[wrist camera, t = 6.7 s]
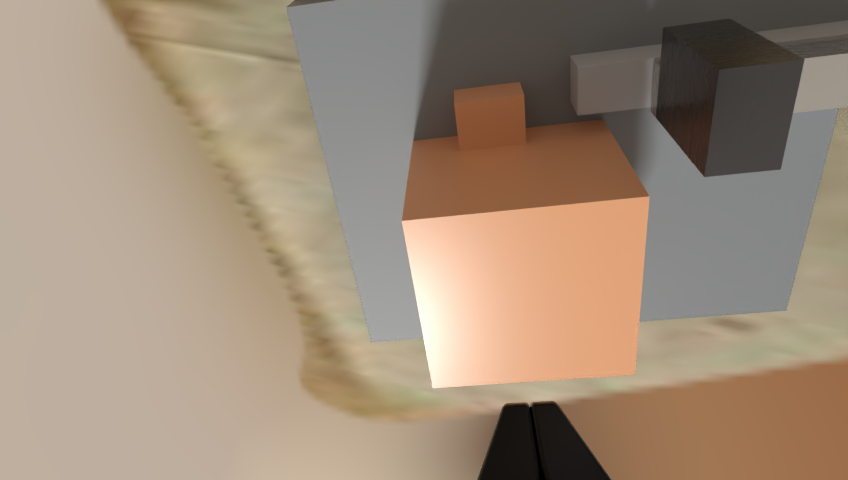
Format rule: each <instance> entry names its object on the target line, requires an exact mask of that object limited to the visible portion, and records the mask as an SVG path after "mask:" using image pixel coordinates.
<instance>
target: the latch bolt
mask: <svg viewBox="0 0 848 480" xmlns="http://www.w3.org/2000/svg"><path fill="white" fill-rule="evenodd" d="M842 107H848V37H847V38H839V39H831V40H823V41H815V42H807V43H799V44H791V45H783V46H779V45H778V44H776V43H774V42H772V41H770V40H768V39H766V38H765V37H763V36H761V35H759V34H757V33H755V32H754V31H752V30H750V29H748V28H746V27H744V26H742V25H741V24H739V23H737V22H735V21H733V20H731V19H723V20H716V21H708V22H700V23H693V24H685V25H677V26H670V27H663V36H662V48H661V60H660V61H654V71H653V84H652V97H651V110H650V111H651V113H652V114H653V115H654V116H655V117H656V119H657V120H658V121H659V122H660V124H661V125H662V126H663V127H664V129H665V130H666V131H667V132H668V133H669V135H670V136H671V137H672V138H673V140H674V141H675V142H676V143H677V144H678V146H679V147H680V148H681V149H682V151H683V152H684V153H685V154H686V155H687V157H688V158H689V159H690V160H691V162H692V163H693V164H694V165H695V166H696V168H697V169H698V170H699V171H700V173H701V174H702V175H703V176H704V177H712V176H722V175H731V174H741V173H751V172H761V171H771V170H781V166H782V162H783V157H784V152H785V148H786V143H787V139H788V134H789V129H790V125H791V120H792V115H793V113H798V112H807V111H816V110H824V109H833V108H842Z"/></svg>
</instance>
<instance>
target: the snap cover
mask: <svg viewBox="0 0 848 480" xmlns="http://www.w3.org/2000/svg"><path fill="white" fill-rule="evenodd" d="M454 106H455V115H456V124H457V133H458V136H452V137H444V138H435V139H426V140H417V141H413V144H412V151H411V158H410V165H409V172H408V179H407V186H406V193H405V201H404V208H403V215H402V226H403V231H404V236H405V242H406V247H407V252H408V258H409V263H410V268H411V274H412V279H413V285H414V290H415V295H416V301H417V306H418V311H419V317H420V322H421V327H422V333H423V338H424V343H425V349H426V354H427V359H428V365H429V370H430V375H431V381H432V386H433V388H441V387H456V386H471V385H486V384H501V383H516V382H531V381H546V380H561V379H576V378H590V377H605V376H620V375H635V367H636V355H637V343H638V331H639V319H640V307H641V295H642V283H643V271H644V258H645V246H646V234H647V222H648V210H649V198H650V196H649V194H648V193H647V191H646V189H645V188H644V186H643V184H642V183H641V181H640V180H639V178H638V176H637V175H636V173H635V171H634V170H633V168H632V166H631V165H630V163H629V161H628V160H627V158H626V156H625V155H624V153H623V151H622V150H621V148H620V146H619V145H618V143H617V141H616V140H615V138H614V136H613V135H612V133H611V131H610V130H609V128H608V126H607V125H606V123H605V121H604V120H603V119H601V120H592V121H583V122H574V123H566V124H557V125H548V126H539V127H531V128H526V125H525V104H524V93H523V90H522V87H521V84H520V82H515V83H507V84H499V85H491V86H483V87H475V88H467V89H459V90H454Z"/></svg>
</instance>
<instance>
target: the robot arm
mask: <svg viewBox="0 0 848 480" xmlns="http://www.w3.org/2000/svg"><path fill="white" fill-rule="evenodd" d="M478 480H611V479H610V477H609V476H608V474H607V473H606V471H605V470H604V469H603V467H602V466H601V465H600V463H599V462H598V460H597V459H596V457H595V456H594V455H593V453H592V452H591V450H590V449H589V447H588V446H587V445H586V443H585V442H584V440H583V439H582V438H581V436H580V435H579V433H578V432H577V431H576V429H575V428H574V426H573V425H572V424H571V422H570V421H569V419H568V418H567V416H566V415H565V414H564V412H563V411H562V409H561V408H560V407H559V405H558V404H557V403H555V402H554V401H544V402H533V403H531V405H530V406H529V405H528V404H527V403H507V404H505V405H504V406H503V407H502V410H501V412H500V415H499V418H498V421H497V424H496V427H495V430H494V433H493V436H492V439H491V442H490V445H489V448H488V451H487V453H486V456H485V459H484V462H483V465H482V468H481V471H480V474H479V477H478Z"/></svg>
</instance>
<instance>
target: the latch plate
mask: <svg viewBox="0 0 848 480" xmlns="http://www.w3.org/2000/svg"><path fill="white" fill-rule="evenodd" d="M286 9H287V13H288V17H289V20H290V24H291V28H292V32H293V36H294V40H295V44H296V48H297V52H298V56H299V60H300V64H301V68H302V72H303V76H304V80H305V83H306V87H307V91H308V95H309V99H310V103H311V107H312V111H313V115H314V119H315V123H316V127H317V131H318V135H319V139H320V142H321V146H322V150H323V154H324V158H325V162H326V166H327V170H328V174H329V178H330V182H331V186H332V190H333V194H334V198H335V202H336V205H337V209H338V213H339V217H340V221H341V225H342V229H343V233H344V237H345V241H346V245H347V249H348V253H349V257H350V261H351V264H352V268H353V272H354V276H355V280H356V284H357V288H358V292H359V296H360V300H361V304H362V308H363V312H364V316H365V320H366V324H367V327H368V331H369V335H370V339H371V342H381V341H394V340H407V339H421V338H423V333H422V327H421V322H420V317H419V311H418V306H417V301H416V295H415V290H414V285H413V279H412V274H411V268H410V263H409V258H408V252H407V247H406V242H405V236H404V231H403V226H402V215H403V208H404V201H405V193H406V186H407V179H408V172H409V165H410V158H411V151H412V144H413V141H417V140H426V139H435V138H444V137H452V136H458V133H457V124H456V115H455V106H454V90H459V89H467V88H475V87H483V86H491V85H499V84H507V83H515V82H520V84H521V87H522V90H523V93H524V104H525V125H526V128H531V127H539V126H548V125H557V124H566V123H574V122H583V121H592V120H601V119H603V120H604V121H605V123H606V125H607V126H608V128H609V130H610V131H611V133H612V135H613V136H614V138H615V140H616V141H617V143H618V145H619V146H620V148H621V150H622V151H623V153H624V155H625V156H626V158H627V160H628V161H629V163H630V165H631V166H632V168H633V170H634V171H635V173H636V175H637V176H638V178H639V180H640V181H641V183H642V184H643V186H644V188H645V189H646V191H647V193H648V194H649V196H650V198H649V210H648V222H647V234H646V246H645V258H644V271H643V283H642V295H641V307H640V319H639V322H643V321H656V320H669V319H682V318H695V317H708V316H721V315H734V314H747V313H760V312H773V311H786V310H787V306H788V302H789V299H790V295H791V291H792V287H793V283H794V279H795V276H796V272H797V268H798V264H799V260H800V256H801V252H802V249H803V245H804V241H805V237H806V233H807V229H808V226H809V222H810V218H811V214H812V210H813V206H814V203H815V199H816V195H817V191H818V187H819V183H820V180H821V176H822V172H823V168H824V164H825V160H826V157H827V153H828V149H829V145H830V141H831V137H832V134H833V130H834V126H835V122H836V118H837V114H838V110H839V108H833V109H824V110H816V111H807V112H798V113H793V115H792V120H791V125H790V129H789V134H788V139H787V143H786V148H785V152H784V157H783V162H782V166H781V170H771V171H761V172H751V173H741V174H731V175H722V176H712V177H704V176H703V175H702V174H701V173H700V171H699V170H698V169H697V168H696V166H695V165H694V164H693V163H692V162H691V160H690V159H689V158H688V157H687V155H686V154H685V153H684V152H683V151H682V149H681V148H680V147H679V146H678V144H677V143H676V142H675V141H674V140H673V138H672V137H671V136H670V135H669V133H668V132H667V131H666V130H665V129H664V127H663V126H662V125H661V124H660V122H659V121H658V120H657V119H656V117H655V116H654V115H653V114H652V113H651V111H650V110H651V97H652V84H653V71H654V61H660V60H661V48H662V36H663V27H670V26H677V25H685V24H693V23H700V22H708V21H716V20H723V19H731V20H733V21H735V22H737V23H739V24H741V25H742V26H744V27H746V28H748V29H750V30H752V31H754V32H755V33H757V34H759V35H761V36H763V37H765V38H766V39H768V40H770V41H772V42H774V43H776V44H778V45H779V46H783V45H791V44H799V43H807V42H815V41H823V40H831V39H839V38H847V37H848V0H295V1H293V2H292V3H291V4H290V5H288V6H287V7H286Z"/></svg>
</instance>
